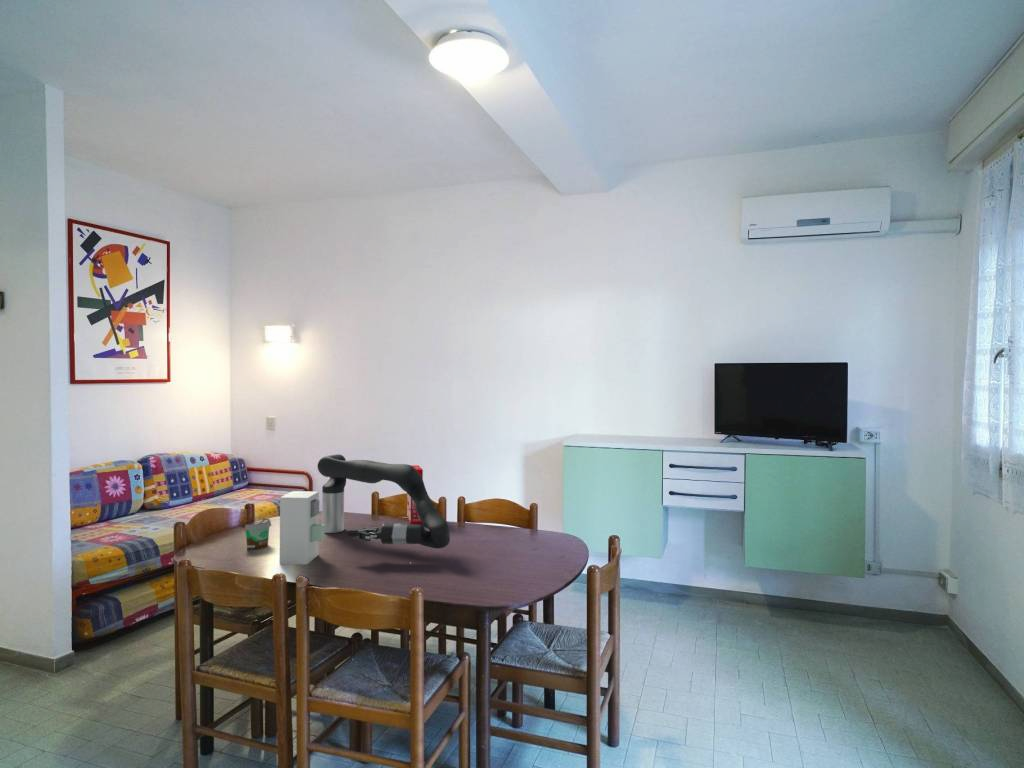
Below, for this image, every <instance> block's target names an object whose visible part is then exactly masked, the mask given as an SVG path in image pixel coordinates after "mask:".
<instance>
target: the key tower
mask: <svg viewBox="0 0 1024 768" xmlns="http://www.w3.org/2000/svg"><path fill="white" fill-rule="evenodd" d="M319 493H320V492H319V491H309V490H308V491H301V490H300V491H297V490H296V491H295V490H293V491H290V492H288V493H286V494H284V495H282V496H280V498H279V565H308V564H310V563H311V562H312V561H313V560H314V559H315V558H317V557H318V555H319V541H310V526H312V525H313V524H319V514H320V513H319V514H318V515H316V516H315V517H314V516H311V501H313V500H319V501H320V496H319V495H320V494H319Z"/></svg>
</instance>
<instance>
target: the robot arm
mask: <svg viewBox="0 0 1024 768" xmlns="http://www.w3.org/2000/svg"><path fill="white" fill-rule="evenodd" d="M346 459H347V458H346V457H345V456H344V455H342V454H331V455H326V456H323V457H321V458H320V459H319V461H318V462H317V471H318V472H319V474H321V475H322V476H323V477H325V478H329V479H328V481H326V483H324V484H323V485H322V487H321V489H322V490H321V491H322V493H321V495H322V497H321V501H322V503H321V524H325V534H336V533H341V532H343V531H344V530H345V526H344V525H345V487H346V485H347V480H351V481H354V482H356V481H357V482H361V483H365V484H366V483H367V484H377V483H379V482H381V481H388V482H391V483H395V484H396V485H398V486H399V487H400V489H402V491H404V492H405V493H406V494H407V493H408V494H409V496H410V497H411V498H412V499H413V501H414V503H415V506H416V510H417V513H418V515H419V517H420V519H421V521H422V524H423V525H422V524H410V523H409V524H408V523H402V522H401V523H400V522H397V523H395V522H394V523H393V522H384V523H383V524H382V525H381V527H379V526H377V525H373V526H368V527H362V528H359V529H349V530H348V531H347V536H348V537H351V538H352V537H353V538H354V537H355V538H356V537H358V540H362V541H366V542H371V541H376V540H380V542H381V544H382V545H406V544H407V545H421V546H425V547H428V548H432V549H443V548H445V547H447V546H448V545H449V544H450V539H451V537H450V527H449V525H448V523H447V521H446V520H445V518H443V515H440V513H439V511H438V509H437V507H436V506H435V504H434V503H433V501H432V499H431V498H430V495H429V494H428V492H427V488H426V486H425V483H424V480H423V479H422V477H421V475H420V474H419V472H418V471H417V470H416V469H415V468H414V467H413V466H412V465H410V464H407V463H406V464H405V463H387V462H386V463H385V462H379V461H375V460H366V459H365V460H364V459H352V460H350V459H349V460H346ZM425 528H427V529H428V530H426V529H425Z"/></svg>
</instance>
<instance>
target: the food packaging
mask: <svg viewBox="0 0 1024 768" xmlns="http://www.w3.org/2000/svg"><path fill="white" fill-rule="evenodd" d="M411 466H413V467H414V468H415V469H416V470H417V471H418V472H419V474H420V475H421V477H422V479H423V478H424V470H423V468H422V467H421V466H420V465H418V464H415V465H411ZM406 497H407V498H406V518H407V520H408V521H409V524H419V525H422V524H423V523H422V521H421V519H420V517H419V515H418V513H417V510H416V506H415V503H414V501H413V499H412V498H411V497H410V496H409V494H408V493H407V492H406Z"/></svg>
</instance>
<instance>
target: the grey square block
mask: <svg viewBox="0 0 1024 768" xmlns="http://www.w3.org/2000/svg"><path fill="white" fill-rule="evenodd" d="M318 514H320V499H319V500H313V501H311V516H314V517H315V516H316V515H318Z"/></svg>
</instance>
